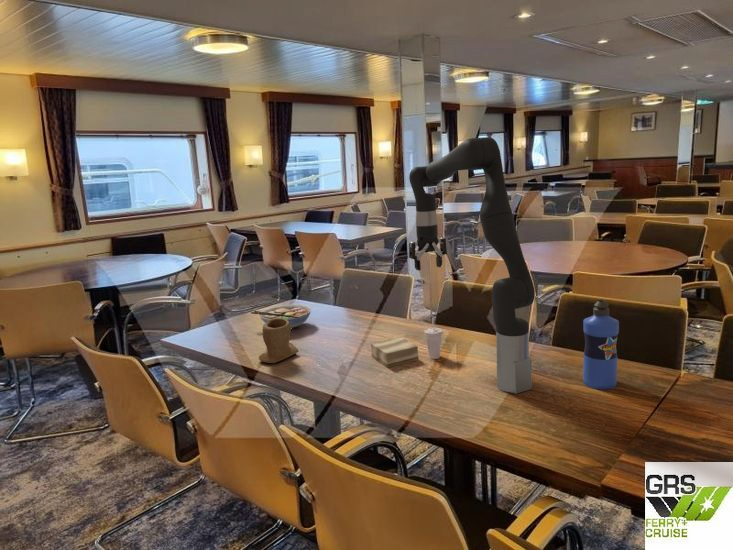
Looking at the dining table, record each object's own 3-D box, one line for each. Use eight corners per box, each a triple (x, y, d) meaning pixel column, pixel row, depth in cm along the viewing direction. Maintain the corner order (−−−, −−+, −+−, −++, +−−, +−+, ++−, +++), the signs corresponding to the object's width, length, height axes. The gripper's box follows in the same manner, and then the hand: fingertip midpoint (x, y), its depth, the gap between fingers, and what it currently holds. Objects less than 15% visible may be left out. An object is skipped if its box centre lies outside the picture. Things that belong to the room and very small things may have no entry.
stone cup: (276, 368, 188) (271, 327, 185) (254, 362, 196) (249, 322, 193) (307, 354, 200) (303, 315, 196) (285, 349, 207) (281, 311, 204)
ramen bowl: (325, 322, 237) (324, 305, 235) (292, 339, 218) (290, 319, 217) (282, 317, 250) (280, 300, 249) (247, 332, 232) (245, 314, 230)
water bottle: (575, 380, 161) (576, 300, 156) (600, 374, 164) (601, 295, 159) (599, 392, 152) (600, 307, 147) (624, 385, 156) (627, 302, 150)
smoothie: (443, 353, 191) (441, 315, 188) (444, 360, 184) (442, 321, 181) (425, 353, 191) (423, 316, 188) (425, 360, 185) (423, 321, 182)
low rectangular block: (418, 359, 186) (417, 346, 185) (387, 367, 181) (386, 353, 180) (401, 349, 197) (400, 336, 196) (371, 357, 192) (370, 343, 191)
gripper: (414, 226, 184) (416, 273, 188) (449, 222, 190) (451, 267, 193) (403, 225, 191) (406, 269, 194) (438, 220, 197) (440, 264, 200)
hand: (428, 268), depth 194 cm, fingers open, 8 cm apart
